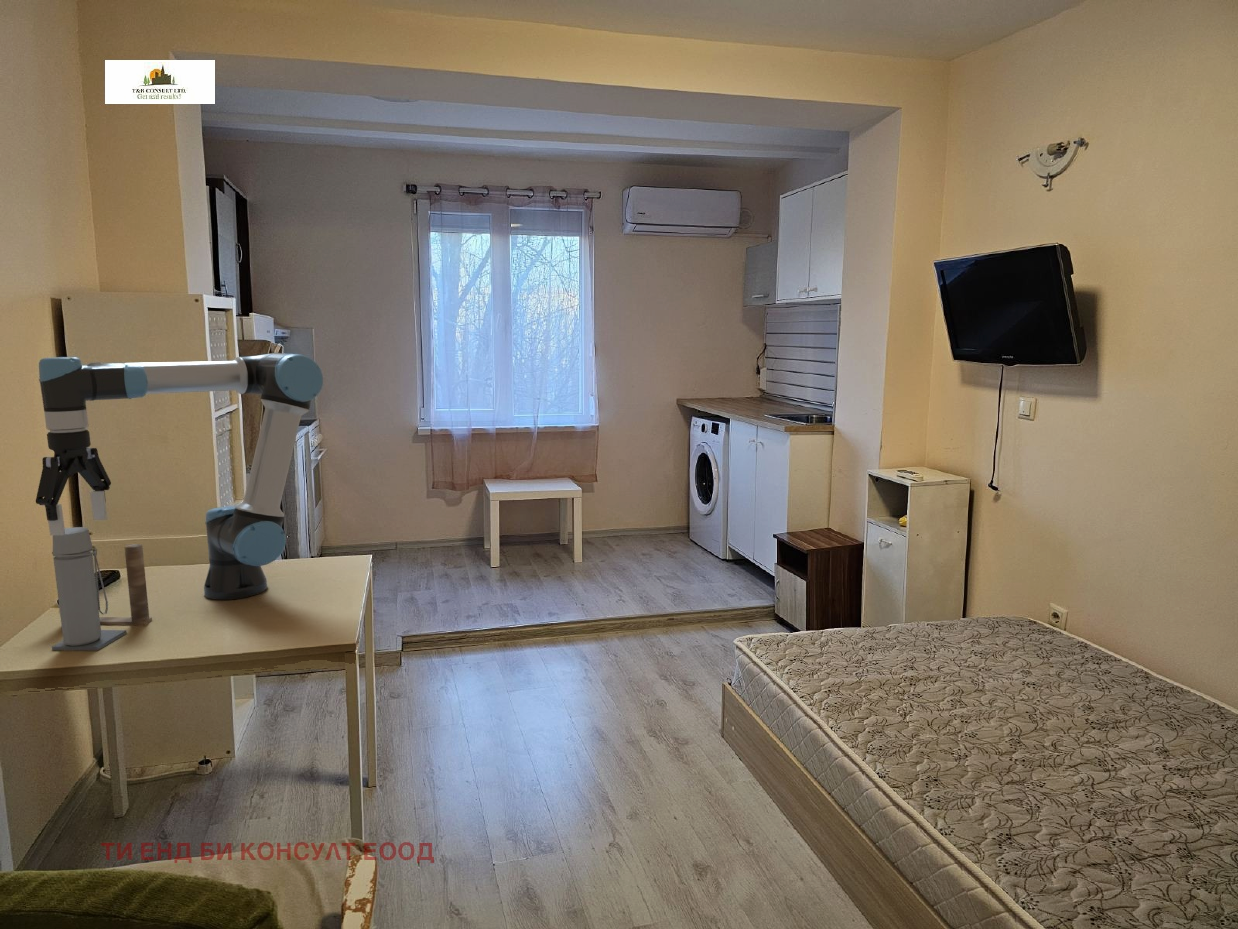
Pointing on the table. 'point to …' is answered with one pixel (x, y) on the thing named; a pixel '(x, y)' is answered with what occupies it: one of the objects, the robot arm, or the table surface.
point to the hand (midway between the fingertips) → (79, 527)
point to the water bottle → (77, 586)
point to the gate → (134, 590)
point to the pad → (104, 640)
